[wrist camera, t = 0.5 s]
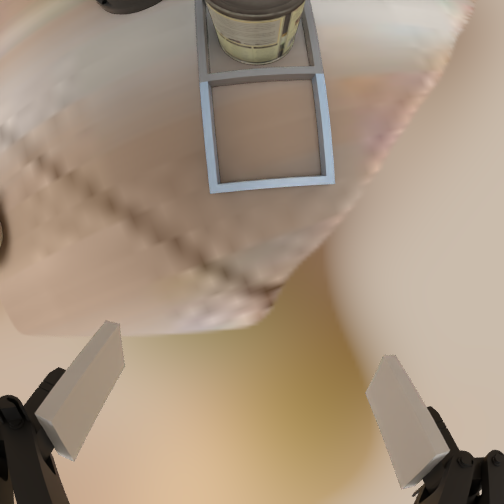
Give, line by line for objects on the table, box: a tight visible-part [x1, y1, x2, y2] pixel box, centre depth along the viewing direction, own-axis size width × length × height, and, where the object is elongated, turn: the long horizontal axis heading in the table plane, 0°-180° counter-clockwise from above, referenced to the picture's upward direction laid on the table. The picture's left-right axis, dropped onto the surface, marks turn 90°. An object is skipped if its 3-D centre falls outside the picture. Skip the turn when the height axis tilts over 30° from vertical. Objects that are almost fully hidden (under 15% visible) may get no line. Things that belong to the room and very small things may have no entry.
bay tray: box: [195, 0, 335, 194], centre depth 31 cm, size 29×15×3 cm, turn 5°
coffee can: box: [205, 0, 306, 65], centre depth 23 cm, size 10×10×14 cm
